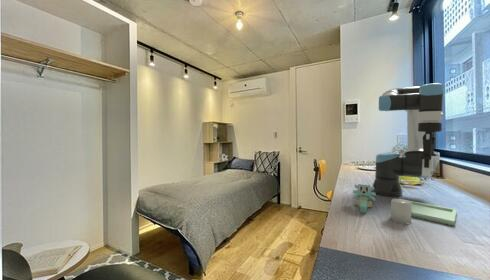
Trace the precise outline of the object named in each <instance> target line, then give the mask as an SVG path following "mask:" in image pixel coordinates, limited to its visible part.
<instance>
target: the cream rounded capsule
mask: <svg viewBox="0 0 490 280" xmlns="http://www.w3.org/2000/svg"><path fill="white" fill-rule="evenodd" d="M410 201H411V200H409V201H408V199H403V198H392V199H391V200H390V220H391V219H392V220H393V222H394V221H396V222H395V223H397V222H399V223H398V224H401V223H410V224H412V217H411V215H412V202H410ZM392 220H391V221H392Z"/></svg>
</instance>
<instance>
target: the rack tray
mask: <svg viewBox="0 0 490 280" xmlns="http://www.w3.org/2000/svg"><path fill="white" fill-rule="evenodd" d="M407 200H408V199H407ZM408 201H410V202H412V215H411V216H413V217H412V218H415V217H418V218H417V219H420V218H422V219H421V220H424V219H426V220H425V221H429V220H430V222H433V221H434V223H438V222H439V224H442V223H443V224H444V225H446V224H448V225H447V226H451V225H452V227H456V226H455V225H456V220H457V219H456V218H457V208H451V207H446V206H442V205H436V204H435V205H434V204H430V203H425V202H417V201H413V200H408Z"/></svg>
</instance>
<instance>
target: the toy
mask: <svg viewBox="0 0 490 280" xmlns="http://www.w3.org/2000/svg"><path fill="white" fill-rule="evenodd" d="M353 187H354V188H355V189H354V190H352V193H353V197H352V198H353V199H356V205H357V206H358V207H359V212H360V213H362V214H367V213H368V208H372V207H373V202H375V201H376V196H377V195H376V193H374V192H372V190H373V189H375V188H374V186H371V185H370V184H362V183H361V184H359V183H357V184H356V183H355V184H354V186H353ZM356 189H357V190H356ZM374 196H375V197H374ZM368 200H370V201H368Z"/></svg>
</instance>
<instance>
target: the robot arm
mask: <svg viewBox="0 0 490 280" xmlns="http://www.w3.org/2000/svg"><path fill="white" fill-rule="evenodd" d="M444 93H445V91H444V85H443V83H439V82H437V83H436V82H434V83H427V84H422V85H419V86H408V87H397V88H393V89H389V90H387V91H385V92H383V94H382V95H380V96H379V97H378V111H380V112H384V111H385V112H392V111H394V112H395V111H405V112H406V113H407V114H406V115H407V116H406V123H407V125H406V127H407V128H406V130H407V141H406V142H407V146H406V147H407V148H406V151H404V152H403V155H401V153H400V152H398V151H397V152H383V153H378V154H376V156H375V161H374V162H375V172H374V173H375V176H374V177H375V178H374V181H373V183H372V186H374V188H375V189H373V190H371V192H374V193H376V194H377V195H380V196H385V197H394V198H395V197H396V198H397V197H402V196H403V189H402V186H401V185H402V184H401V183H400V177H405V178H406V177H407V178H408V177H409V178H418V179H429V178H431V177H432V176H433V173H434V170H435V166H436V165H435V164H436V159H435V157H436V154H437V153H435V150H434V149H435V148H434V147H435V143H436V139H437V138H436V136H435V133H439V132H440V133H441V132H442V130H443V129H442V127H443V125H442V124H443V123H442V122H441V121H442V119H443V117H444V116H445V113H443V101H444V100H443V99H444ZM434 132H435V133H434ZM372 186H371V187H372Z"/></svg>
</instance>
